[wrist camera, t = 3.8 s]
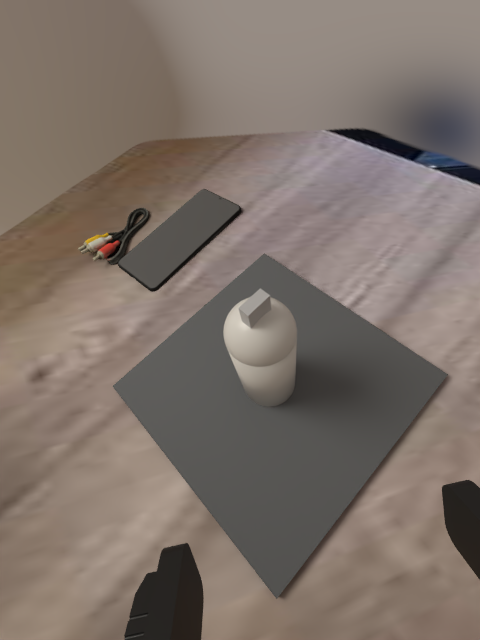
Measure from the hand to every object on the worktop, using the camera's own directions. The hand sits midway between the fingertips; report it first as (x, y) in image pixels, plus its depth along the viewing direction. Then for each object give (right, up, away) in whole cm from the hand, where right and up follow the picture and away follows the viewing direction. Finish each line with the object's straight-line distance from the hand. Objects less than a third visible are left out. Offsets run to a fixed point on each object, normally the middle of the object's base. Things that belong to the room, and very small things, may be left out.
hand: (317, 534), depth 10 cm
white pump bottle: (0, +1, +17) cm, 17 cm away
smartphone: (-9, +16, +28) cm, 34 cm away
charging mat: (0, +1, +17) cm, 17 cm away
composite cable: (-17, +16, +29) cm, 38 cm away
